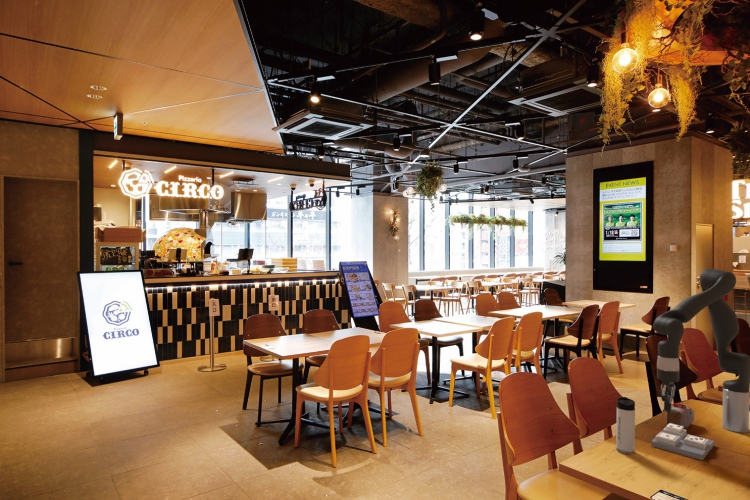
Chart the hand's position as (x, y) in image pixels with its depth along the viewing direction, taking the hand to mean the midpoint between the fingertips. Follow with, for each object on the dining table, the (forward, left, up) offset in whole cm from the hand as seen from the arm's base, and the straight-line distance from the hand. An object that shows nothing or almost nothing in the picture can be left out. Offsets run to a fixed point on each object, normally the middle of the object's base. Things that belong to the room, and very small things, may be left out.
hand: (667, 411), depth 186 cm
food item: (-29, -3, -14) cm, 33 cm away
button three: (-5, +9, -12) cm, 15 cm away
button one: (0, 0, -12) cm, 12 cm away
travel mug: (+17, -10, -14) cm, 24 cm away
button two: (-10, 0, -10) cm, 14 cm away
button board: (-5, +4, -14) cm, 15 cm away
